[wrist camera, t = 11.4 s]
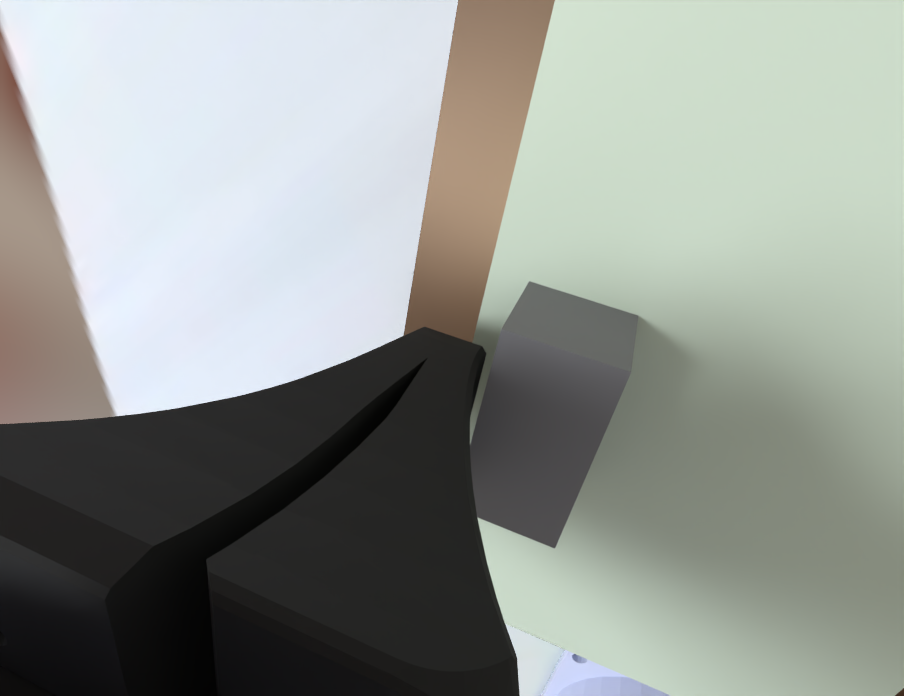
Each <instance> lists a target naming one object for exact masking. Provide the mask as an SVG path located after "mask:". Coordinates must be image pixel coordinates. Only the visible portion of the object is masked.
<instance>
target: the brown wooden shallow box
mask: <svg viewBox="0 0 904 696" xmlns="http://www.w3.org/2000/svg"><path fill="white" fill-rule="evenodd" d="M554 2H555V0H458V6H457V12H456V18H455V24H454V30H453V36H452V43H451V49H450V55H449V61H448V67H447V73H446V79H445V85H444V92H443V98H442V104H441V110H440V116H439V122H438V128H437V135H436V141H435V147H434V153H433V159H432V165H431V171H430V177H429V184H428V190H427V196H426V202H425V208H424V214H423V220H422V226H421V233H420V239H419V245H418V251H417V257H416V263H415V269H414V276H413V282H412V288H411V294H410V300H409V306H408V312H407V318H406V325H405V331H404V335H407V334H409V333H411V332H413V331H415V330H418V329H420V328H422V327H427V328H430V329H433V330H436V331H439V332H442V333H445V334H448V335H451V336H454V337H457V338H460V339H463V340H466V341H469V342H473V338H474V334H475V330H476V326H477V322H478V317H479V313H480V309H481V305H482V301H483V297H484V293H485V288H486V284H487V280H488V276H489V272H490V268H491V264H492V259H493V255H494V251H495V247H496V243H497V239H498V234H499V230H500V226H501V222H502V218H503V214H504V210H505V205H506V201H507V197H508V193H509V189H510V185H511V181H512V176H513V172H514V168H515V164H516V160H517V156H518V151H519V147H520V143H521V139H522V135H523V131H524V127H525V122H526V118H527V114H528V110H529V106H530V102H531V98H532V93H533V89H534V85H535V81H536V77H537V73H538V69H539V64H540V60H541V56H542V52H543V48H544V44H545V39H546V35H547V31H548V27H549V23H550V19H551V15H552V10H553V6H554ZM895 696H904V688H903V689H902V690H901V691H900V692H898V693H897V694H896V695H895Z"/></svg>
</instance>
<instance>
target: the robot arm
mask: <svg viewBox="0 0 904 696" xmlns="http://www.w3.org/2000/svg"><path fill="white" fill-rule="evenodd" d="M485 357H486V352H485V350H484V348H483V347H482V346H480V345H477V344H475V343H472V342H469V341H466V340H463V339H460V338H457V337H454V336H451V335H448V334H445V333H442V332H439V331H436V330H433V329H430V328H427V327H422V328H420V329H418V330H415V331H413V332H411V333H409V334H407V335H404V336H402V337H400V338H398V339H396V340H394V341H392V342H389V343H387V344H385V345H383V346H381V347H378V348H376V349H374V350H372V351H369V352H367V353H365V354H362V355H360V356H358V357H356V358H353V359H351V360H349V361H346V362H344V363H341V364H338V365H336V366H333V367H330V368H328V369H325V370H322V371H320V372H317V373H314V374H312V375H309V376H306V377H304V378H301V379H298V380H295V381H292V382H288V383H285V384H282V385H279V386H275V387H272V388H268V389H264V390H261V391H257V392H253V393H249V394H246V395H241V396H237V397H233V398H228V399H223V400H218V401H213V402H207V403H202V404H197V405H192V406H187V407H182V408H177V409H171V410H164V411H157V412H149V413H142V414H134V415H125V416H116V417H108V418H97V419H86V420H72V421H55V422H38V423H37V422H36V423H18V424H0V696H519V683H518V668H517V657H516V654H515V651H514V648H513V645H512V642H511V640H510V637H509V634H508V631H507V628H506V625H505V622H504V619H503V616H502V613H501V610H500V607H499V604H498V600H497V597H496V594H495V590H494V586H493V583H492V579H491V575H490V572H489V568H488V565H487V560H486V556H485V551H484V546H483V542H482V537H481V532H480V527H479V523H478V518H477V513H476V506H475V499H474V492H473V483H472V473H471V460H470V416H471V412H472V408H473V405H474V401H475V397H476V393H477V389H478V385H479V381H480V377H481V373H482V369H483V365H484V361H485ZM540 696H671V695H668V694H666V693H664V692H661V691H659V690H657V689H654V688H652V687H650V686H648V685H645V684H643V683H641V682H638V681H636V680H634V679H631V678H629V677H627V676H625V675H622V674H620V673H618V672H615V671H613V670H611V669H608V668H606V667H604V666H601V665H599V664H597V663H595V662H592V661H590V660H588V659H585V658H583V657H581V656H578V655H576V654H574V653H572V652H569V651H567V650H565V649H564V651H563V653H562V655H561V657H560V659H559V661H558V663H557V665H556V667H555V669H554V671H553V672H552V674H551V676H550V678H549V680H548V682H547V684H546V686H545V688H544V690H543V692H542V693H541V695H540Z"/></svg>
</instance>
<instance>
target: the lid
mask: <svg viewBox="0 0 904 696" xmlns="http://www.w3.org/2000/svg"><path fill="white" fill-rule="evenodd" d="M472 343H475V344H477V345H480V346H482V347H483V348H484V350H485V352H486V357H485V361H484V365H483V369H482V373H481V377H480V381H479V385H478V389H477V393H476V397H475V401H474V405H473V408H472V412H471V416H470V460H471V473H472V483H473V492H474V499H475V506H476V513H477V518H478V523H479V527H480V532H481V537H482V542H483V546H484V551H485V556H486V560H487V565H488V568H489V572H490V575H491V579H492V583H493V586H494V590H495V594H496V597H497V600H498V604H499V607H500V610H501V613H502V616H503V619H504V622H505V624H507V625H509V626H512V627H514V628H516V629H519V630H521V631H523V632H526V633H528V634H530V635H532V636H535V637H537V638H539V639H542V640H544V641H546V642H549V643H551V644H553V645H555V646H558V647H560V648H562V649H565V650H567V651H569V652H572V653H574V654H576V655H578V656H581V657H583V658H585V659H588V660H590V661H592V662H595V663H597V664H599V665H601V666H604V667H606V668H608V669H611V670H613V671H615V672H618V673H620V674H622V675H625V676H627V677H629V678H631V679H634V680H636V681H638V682H641V683H643V684H645V685H648V686H650V687H652V688H654V689H657V690H659V691H661V692H664V693H666V694H668V695H671V696H895V695H896V694H897V693H898V692H900V691H901V690H902V689H903V688H904V0H555V2H554V6H553V10H552V15H551V19H550V23H549V27H548V31H547V35H546V39H545V44H544V48H543V52H542V56H541V60H540V64H539V69H538V73H537V77H536V81H535V85H534V89H533V93H532V98H531V102H530V106H529V110H528V114H527V118H526V122H525V127H524V131H523V135H522V139H521V143H520V147H519V151H518V156H517V160H516V164H515V168H514V172H513V176H512V181H511V185H510V189H509V193H508V197H507V201H506V205H505V210H504V214H503V218H502V222H501V226H500V230H499V234H498V239H497V243H496V247H495V251H494V255H493V259H492V264H491V268H490V272H489V276H488V280H487V284H486V288H485V293H484V297H483V301H482V305H481V309H480V313H479V317H478V322H477V326H476V330H475V334H474V338H473V342H472Z"/></svg>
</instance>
